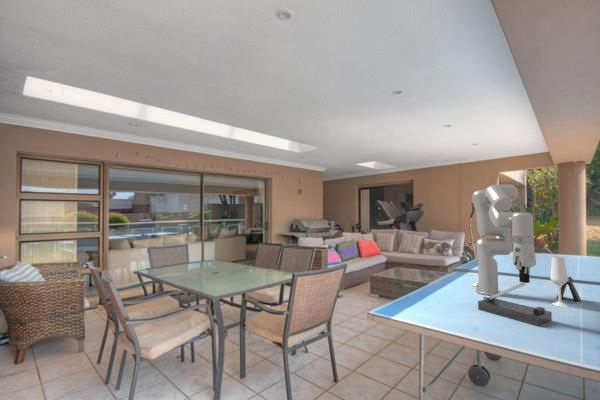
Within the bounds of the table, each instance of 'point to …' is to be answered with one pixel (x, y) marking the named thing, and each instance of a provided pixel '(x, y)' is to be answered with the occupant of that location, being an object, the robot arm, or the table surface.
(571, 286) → the phone stand
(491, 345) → the table surface
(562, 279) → the champagne flute
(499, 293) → the strap
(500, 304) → the block
